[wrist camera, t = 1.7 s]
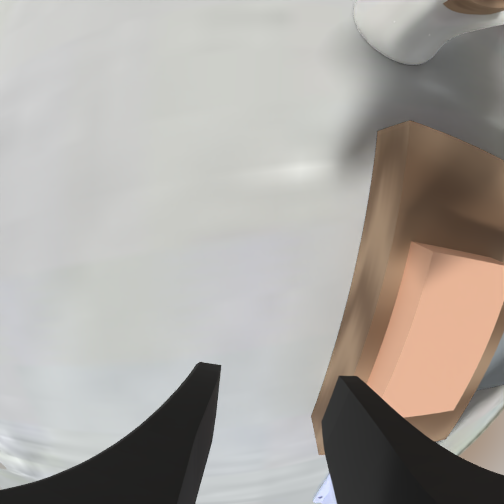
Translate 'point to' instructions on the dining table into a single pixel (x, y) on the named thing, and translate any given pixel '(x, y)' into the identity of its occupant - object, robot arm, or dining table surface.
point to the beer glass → (421, 24)
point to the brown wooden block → (422, 231)
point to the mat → (494, 369)
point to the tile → (437, 329)
